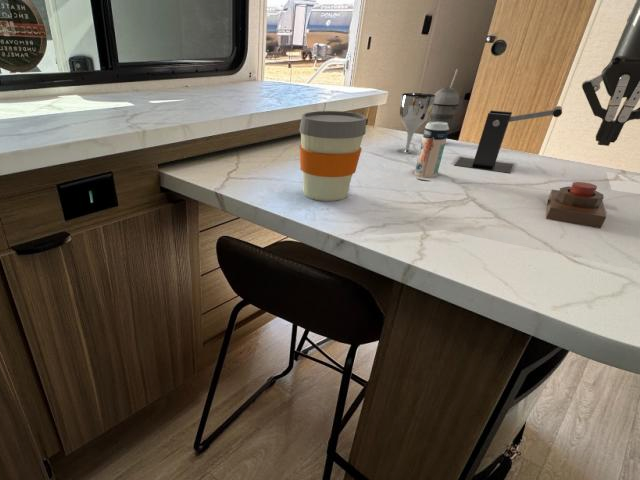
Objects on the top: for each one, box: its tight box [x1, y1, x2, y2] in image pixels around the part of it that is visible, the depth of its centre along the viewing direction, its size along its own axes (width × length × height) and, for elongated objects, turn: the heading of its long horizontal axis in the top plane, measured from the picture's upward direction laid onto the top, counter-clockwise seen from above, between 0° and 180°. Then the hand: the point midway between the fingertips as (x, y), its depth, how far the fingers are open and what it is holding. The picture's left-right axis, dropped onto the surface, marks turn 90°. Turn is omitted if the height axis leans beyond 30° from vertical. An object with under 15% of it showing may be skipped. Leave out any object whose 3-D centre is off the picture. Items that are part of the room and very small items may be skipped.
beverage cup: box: [428, 68, 460, 128], centre depth 115 cm, size 7×7×20 cm
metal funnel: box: [399, 92, 436, 155], centre depth 107 cm, size 8×8×15 cm
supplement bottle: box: [414, 121, 450, 182], centre depth 92 cm, size 5×5×12 cm
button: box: [569, 181, 598, 196], centre depth 75 cm, size 4×4×2 cm
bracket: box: [453, 110, 514, 174], centre depth 98 cm, size 12×9×13 cm
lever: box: [508, 105, 563, 123], centre depth 92 cm, size 13×5×2 cm, turn 57°
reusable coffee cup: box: [298, 110, 367, 202], centre depth 82 cm, size 13×13×15 cm
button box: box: [545, 186, 607, 229], centre depth 76 cm, size 12×8×4 cm, turn 147°
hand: (603, 144), depth 71 cm, fingers closed
